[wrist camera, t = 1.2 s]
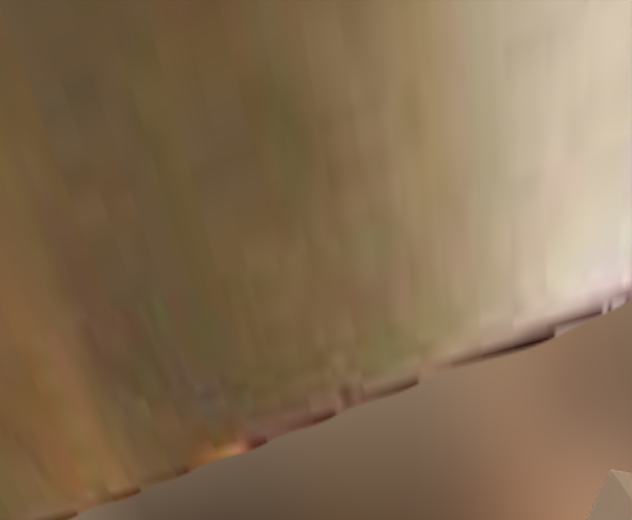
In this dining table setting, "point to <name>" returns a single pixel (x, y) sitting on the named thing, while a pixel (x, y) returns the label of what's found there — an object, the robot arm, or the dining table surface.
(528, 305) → the dining table surface
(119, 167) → the dining table surface
